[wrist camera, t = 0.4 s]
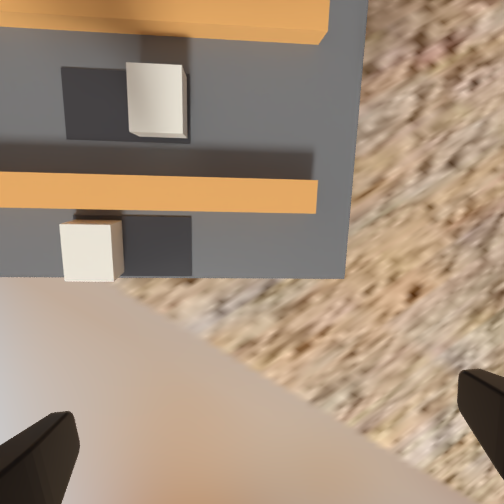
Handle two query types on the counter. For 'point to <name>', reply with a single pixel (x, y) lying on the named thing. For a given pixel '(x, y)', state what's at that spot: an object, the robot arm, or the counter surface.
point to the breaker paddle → (157, 100)
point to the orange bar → (177, 18)
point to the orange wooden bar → (156, 193)
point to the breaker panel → (182, 150)
